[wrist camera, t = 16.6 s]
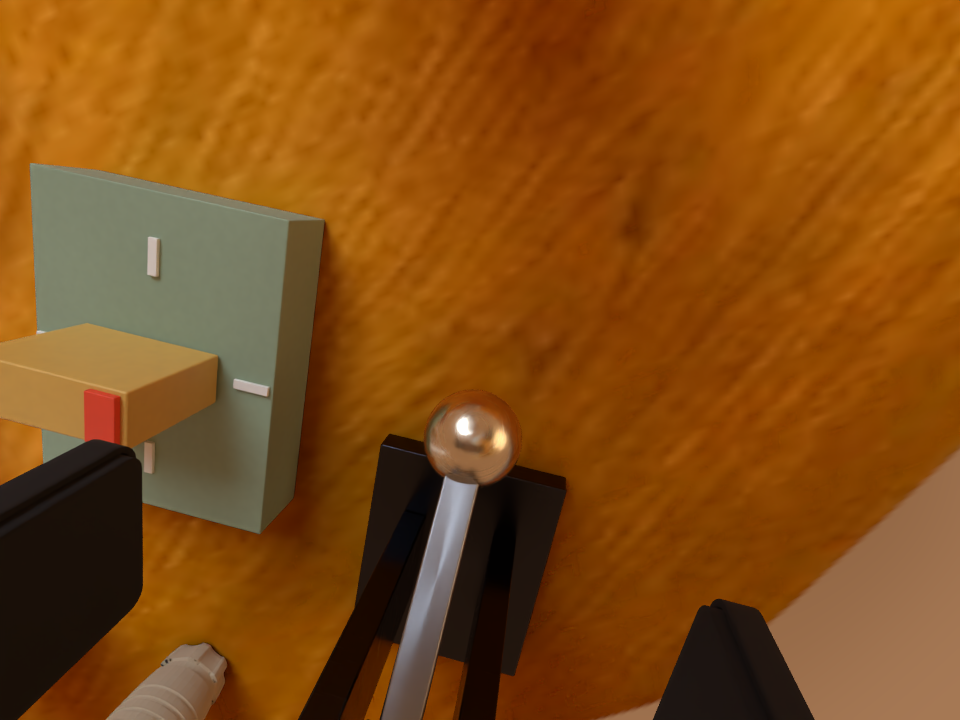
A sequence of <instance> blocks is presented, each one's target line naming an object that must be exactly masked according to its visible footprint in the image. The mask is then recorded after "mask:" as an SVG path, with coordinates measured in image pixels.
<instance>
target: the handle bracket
mask: <svg viewBox="0 0 960 720" xmlns="http://www.w3.org/2000/svg"><path fill="white" fill-rule="evenodd" d="M442 483H443V479H442V478H441V477H440V476H439V475H438V474H437V473H436V472H435V471H434V469H433V468H432V466H431V465H430V463H429V461H428V459H427V456H426V453H425V448H424V442H421V441H417V440H413V439H409V438H405V437H401V436H397V435H393V434H389V435H388V436H387V437H386V439H385V440H384V441H383V443H382V444H381V447H380V453H379V459H378V466H377V472H376V478H375V484H374V490H373V496H372V503H371V509H370V515H369V521H368V527H367V534H366V540H365V546H364V552H363V558H362V564H361V571H360V577H359V583H358V589H357V595H356V602H355V608H354V610H353V612H352V614H351V616H350V618H349V620H348V622H347V624H346V626H345V628H344V630H343V632H342V634H341V636H340V638H339V640H338V642H337V644H336V646H335V648H334V650H333V652H332V654H331V656H330V658H329V659H328V661H327V663H326V665H325V667H324V669H323V671H322V673H321V675H320V677H319V679H318V681H317V683H316V685H315V687H314V689H313V691H312V693H311V695H310V697H309V699H308V701H307V703H306V705H305V707H304V709H303V711H302V712H301V714H300V716H299V718H298V720H364V718H365V715H366V712H367V710H368V707H369V704H370V702H371V699H372V696H373V694H374V691H375V689H376V686H377V683H378V681H379V678H380V675H381V673H382V670H383V667H384V665H385V662H386V659H387V657H388V654H389V652H390V649H391V646H392V644H393V643H396V644H400V642H401V638H402V634H403V630H404V626H405V623H406V619H407V615H408V611H409V608H410V604H411V600H412V596H413V593H414V589H415V585H416V581H417V577H418V574H419V570H420V566H421V562H422V559H423V555H424V551H425V547H426V544H427V540H428V536H429V532H430V528H431V525H432V521H433V517H434V513H435V510H436V506H437V502H438V498H439V495H440V491H441V487H442ZM566 492H567V491H566V478H565V477H561V476H557V475H553V474H549V473H545V472H541V471H537V470H533V469H529V468H525V467H521V466H517V465H515V466H514V467H513V469H512V470H511V471H510V473H509V474H508V475H507V476H505V477H504V478H503V479H502V480H500V481H499V482H497V483H495V484H493V485H491V486H488V487H485V488H481V489H478V493H477V497H476V501H475V505H474V509H473V513H472V518H471V522H470V526H469V530H468V534H467V538H466V542H465V547H464V551H463V555H462V559H461V563H460V567H459V571H458V575H457V580H456V584H455V588H454V592H453V596H452V600H451V604H450V609H449V613H448V617H447V621H446V625H445V629H444V633H443V637H442V642H441V646H440V650H439V654H438V655H439V656H443V657H446V658H450V659H454V660H457V661H461V662H464V666H463V671H462V676H461V681H460V686H459V691H458V696H457V701H456V706H455V711H454V716H453V720H495V717H496V709H497V700H498V692H499V683H500V675H501V673H503V674H507V675H511V676H514V675H515V672H516V668H517V665H518V661H519V657H520V654H521V650H522V647H523V643H524V640H525V636H526V633H527V629H528V626H529V622H530V619H531V615H532V612H533V608H534V605H535V601H536V598H537V594H538V590H539V587H540V583H541V580H542V576H543V573H544V569H545V566H546V562H547V559H548V555H549V552H550V548H551V545H552V541H553V538H554V534H555V531H556V527H557V523H558V520H559V516H560V513H561V509H562V506H563V502H564V499H565V495H566Z"/></svg>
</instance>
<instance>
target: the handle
mask: <svg viewBox="0 0 960 720" xmlns="http://www.w3.org/2000/svg"><path fill="white" fill-rule="evenodd" d="M161 666H162V667H160V668H158V669H157V670H156V671H155V672H153V673H152V674H151V675H150V676H149V677H148V678H146V679H145V680H144V681H143V682H142V683H141V684H140V685H139V686H138V687H137V688H136V689H135V690H134V691H133V692H132V693H131V694H130V695H129V696H128V697H127V698H126V699H125V700H124V701H123V702H122V703H121V704H120V705H119V706H118V707H117V708H116V709H115V710H114V711H113V712H112V713H111V714H110V716H109V717H108V718H107V719H106V720H204V719H205V717H206V715H207V713H208V711H209V709H210V707H211V705H213V704H214V702H215V701H216V699H217V697H218V696H219V694H220V692H221V690H222V688H223V686H224V684H225V678H224V671H225V669H226V668H227V662H226V660H225V658H224V657H222V656H220V655H218V654H217V653H216V652H215V651H214V650H213V649H212V647H211V645H209V644H207V643H202V644H200V645H196V646H190V645H187V644H185V645H181V646H180V647H178V648H177V649H176V650H175V651H173V652H172V653H171V654H170V655H169V656H168V657H167V658H166V659H165V660H164V661H163V662H162V663H161Z"/></svg>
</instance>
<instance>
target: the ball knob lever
mask: <svg viewBox="0 0 960 720" xmlns="http://www.w3.org/2000/svg"><path fill="white" fill-rule="evenodd" d="M521 447H522V431H521V426H520V423H519V420H518V418H517V416H516V414H515V413H514V411H513V410H512V408H511V407H510V406H509V405H508V404H507V403H506V402H505V401H504V400H503V399H501V398H500V397H498V396H497V395H495V394H492V393H490V392H487V391H483V390H474V389H471V390H463V391H459V392H456V393H453V394H451V395H449V396H448V397H446V398H445V399H443V400H442V401H441V402H440V403H439V404H438V405H437V406H436V407H435V408H434V410H433V411H432V412H431V414H430V416H429V418H428V420H427V423H426V426H425V430H424V448H425V453H426V456H427V459H428V461H429V463H430V465H431V466H432V468H433V469H434V471H435V472H436V473H437V474H438V475H439V476H440V477H441V478H442V479H443V483H442V487H441V491H440V495H439V498H438V502H437V506H436V510H435V513H434V517H433V521H432V525H431V528H430V532H429V536H428V540H427V544H426V547H425V551H424V555H423V559H422V562H421V566H420V570H419V574H418V577H417V581H416V585H415V589H414V593H413V596H412V600H411V604H410V608H409V611H408V615H407V619H406V623H405V626H404V630H403V634H402V638H401V642H400V645H399V649H398V653H397V657H396V660H395V664H394V668H393V672H392V675H391V679H390V683H389V687H388V691H387V694H386V698H385V702H384V706H383V709H382V713H381V717H380V720H423V716H424V712H425V708H426V704H427V699H428V695H429V691H430V687H431V683H432V679H433V675H434V670H435V666H436V662H437V658H438V654H439V650H440V646H441V642H442V637H443V633H444V629H445V625H446V621H447V617H448V613H449V609H450V604H451V600H452V596H453V592H454V588H455V584H456V580H457V575H458V571H459V567H460V563H461V559H462V555H463V551H464V547H465V542H466V538H467V534H468V530H469V526H470V522H471V518H472V513H473V509H474V505H475V501H476V497H477V493H478V489H481V488H485V487H488V486H491V485H493V484H495V483H497V482H499V481H500V480H502V479H503V478H504V477H505V476H507V475H508V474H509V473H510V471H511V470H512V469H513V467H514V466H515V464H516V463H517V460H518V458H519V455H520V452H521ZM368 720H369V719H368Z"/></svg>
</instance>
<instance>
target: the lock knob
mask: <svg viewBox="0 0 960 720" xmlns="http://www.w3.org/2000/svg"><path fill="white" fill-rule="evenodd" d="M217 369H218V355H215V354H211V353H207V352H203V351H199V350H195V349H191V348H186V347H182V346H178V345H174V344H170V343H166V342H162V341H158V340H154V339H150V338H146V337H142V336H138V335H134V334H130V333H126V332H122V331H117V330H113V329H109V328H105V327H101V326H97V325H93V324H89V323H85V324H81V325H76V326H72V327H67V328H63V329H59V330H54V331H50V332H45V333H41V334H37V335H32V336H28V337H24V338H19V339H15V340H10V341H6V342H2V343H0V418H3V419H7V420H10V421H14V422H18V423H22V424H26V425H29V426H33V427H37V428H41V429H44V430H48V431H52V432H56V433H60V434H63V435H67V436H71V437H75V438H78V439H82V440H85V442H87V441H90V440H92V439H100V440H104V441H107V442H111V443H115V444H119V445H123V446H127V447H130V448H133V447H135V446H137V445H138V444H140V443H142V442H144V441H146V440H148V439H149V438H151V437H153V436H155V435H157V434H158V433H160V432H162V431H164V430H166V429H168V428H169V427H171V426H173V425H175V424H177V423H179V422H180V421H182V420H184V419H186V418H188V417H190V416H191V415H193V414H195V413H197V412H199V411H200V410H202V409H204V408H206V407H208V406H210V405H211V404H213V403H215V401H216V385H217Z"/></svg>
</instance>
